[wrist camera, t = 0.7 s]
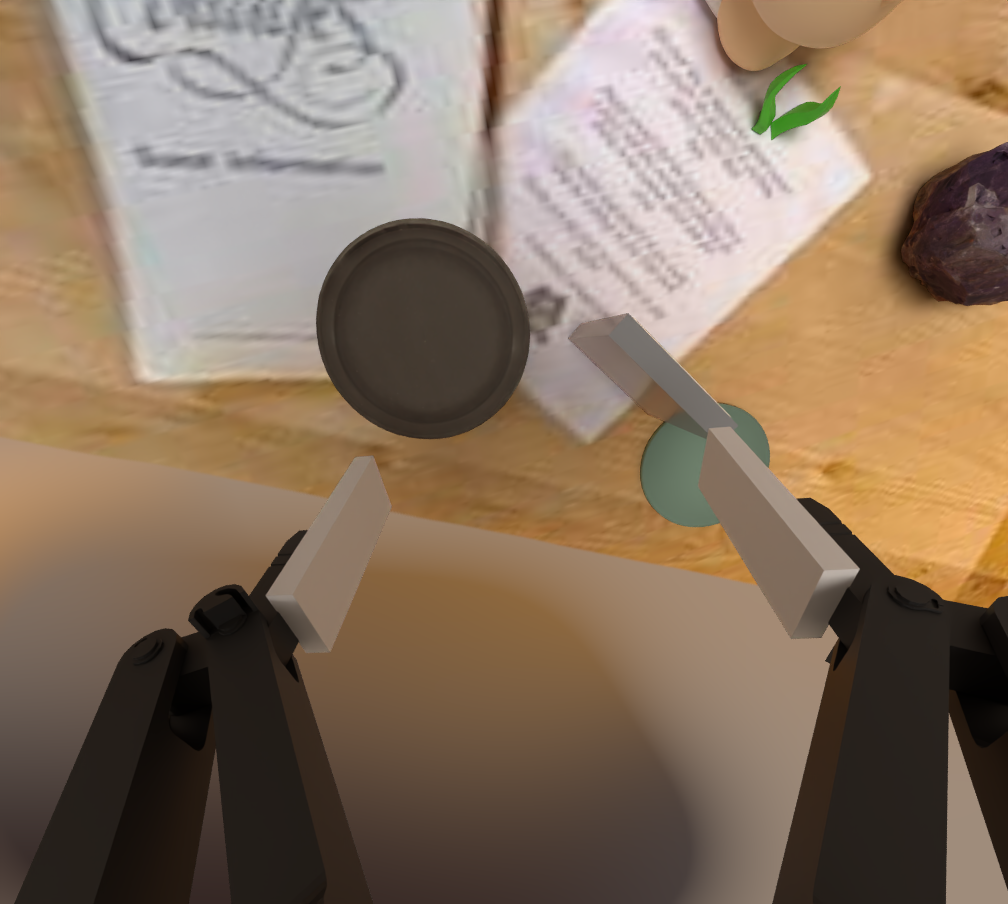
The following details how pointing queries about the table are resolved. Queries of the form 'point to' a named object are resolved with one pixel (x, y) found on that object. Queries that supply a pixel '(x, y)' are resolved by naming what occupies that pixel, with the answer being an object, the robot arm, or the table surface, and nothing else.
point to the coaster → (689, 468)
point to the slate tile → (649, 374)
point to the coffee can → (422, 328)
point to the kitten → (791, 42)
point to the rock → (963, 231)
